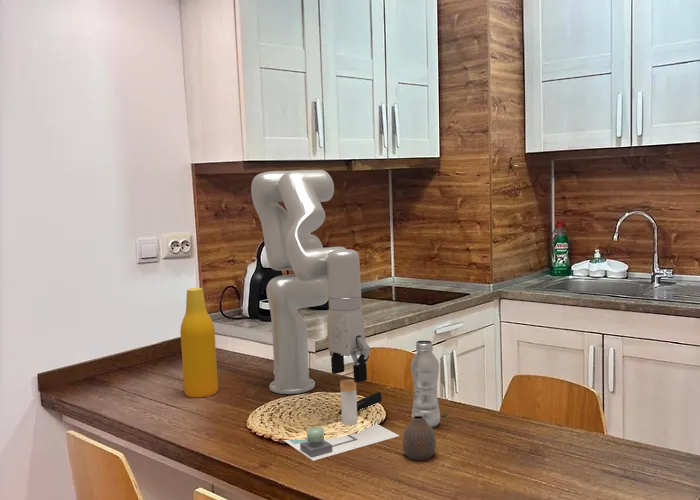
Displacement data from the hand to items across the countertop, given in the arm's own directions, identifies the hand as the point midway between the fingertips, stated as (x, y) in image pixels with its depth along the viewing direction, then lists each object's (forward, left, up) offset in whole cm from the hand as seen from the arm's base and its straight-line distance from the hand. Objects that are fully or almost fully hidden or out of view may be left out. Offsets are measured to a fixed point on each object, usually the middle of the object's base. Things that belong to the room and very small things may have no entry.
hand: (349, 376), depth 163 cm
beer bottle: (-48, -19, -12) cm, 53 cm away
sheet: (+4, -6, -12) cm, 14 cm away
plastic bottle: (+10, +14, -12) cm, 21 cm away
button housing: (+8, -14, -12) cm, 20 cm away
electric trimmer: (-9, +8, -13) cm, 17 cm away
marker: (-1, 0, -12) cm, 12 cm away
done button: (+8, -14, -9) cm, 19 cm away
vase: (+23, +2, -12) cm, 27 cm away
